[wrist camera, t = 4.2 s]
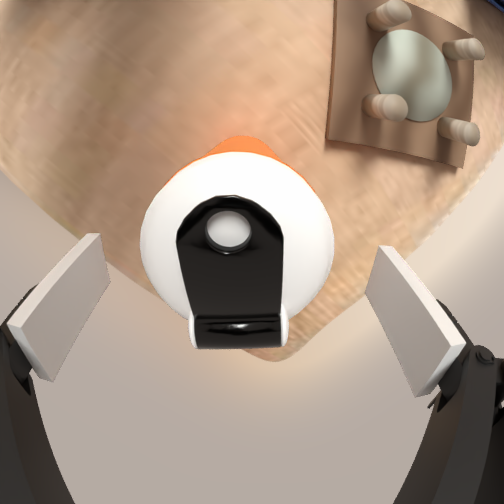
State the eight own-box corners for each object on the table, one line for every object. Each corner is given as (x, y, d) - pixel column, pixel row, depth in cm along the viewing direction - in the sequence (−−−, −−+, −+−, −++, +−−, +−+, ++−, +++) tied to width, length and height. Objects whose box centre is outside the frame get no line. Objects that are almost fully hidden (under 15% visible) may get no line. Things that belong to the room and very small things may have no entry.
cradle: (325, 138, 26) (344, 147, 21) (334, -17, 17) (353, -39, 12) (457, 166, 27) (488, 181, 21) (467, 36, 18) (499, 33, 13)
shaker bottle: (279, 119, 25) (350, 152, 8) (292, 203, 29) (350, 353, 12) (188, 137, 26) (80, 210, 8) (209, 218, 30) (167, 377, 13)
